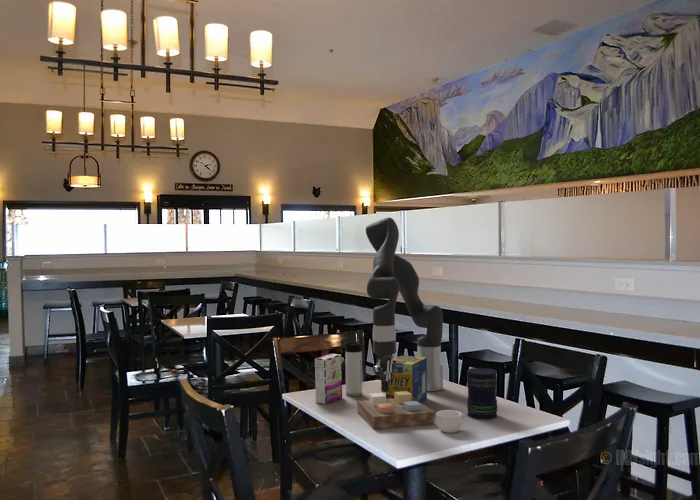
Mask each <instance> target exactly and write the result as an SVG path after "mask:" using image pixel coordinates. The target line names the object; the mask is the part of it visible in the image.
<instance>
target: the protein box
mask: <svg viewBox="0 0 700 500" xmlns="http://www.w3.org/2000/svg"><path fill="white" fill-rule="evenodd" d="M393 360H396V366H395V369H394V373H393V376H392V377H390V380H389V392H387V393H386V392H385V396H386V399H391V398H394V392H401V391H408V392H409V393H411V394H412V397H414V398H415V399H417V400H418V401H419V402H421V403H422V402H424V401H426V400H427V399H428V391H427V358H425V357H417V356H412V355H404V354H401V355H400V356H396V357H395V358H394V357H393Z"/></svg>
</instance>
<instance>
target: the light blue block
mask: <svg viewBox="0 0 700 500" xmlns="http://www.w3.org/2000/svg"><path fill="white" fill-rule="evenodd" d="M403 409H405V410H406V411H419V410H421V404H420V403H418V402H417V401H409V402H403Z"/></svg>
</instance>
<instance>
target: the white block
mask: <svg viewBox="0 0 700 500" xmlns="http://www.w3.org/2000/svg"><path fill="white" fill-rule="evenodd" d="M368 400H369V404H370V405H371V406H377V404H383V403H386V394H384V392H373V393H369V394H368Z"/></svg>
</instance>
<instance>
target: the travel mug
mask: <svg viewBox="0 0 700 500" xmlns="http://www.w3.org/2000/svg"><path fill="white" fill-rule="evenodd" d="M344 345H345V350H344V352H345V355H344V356H345V390H346V391H345V395H346V396H348V397H359V396H362V395H363V362H362V361H363V353H362V352H363V351H362V344H359V343H354V342H344Z"/></svg>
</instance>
